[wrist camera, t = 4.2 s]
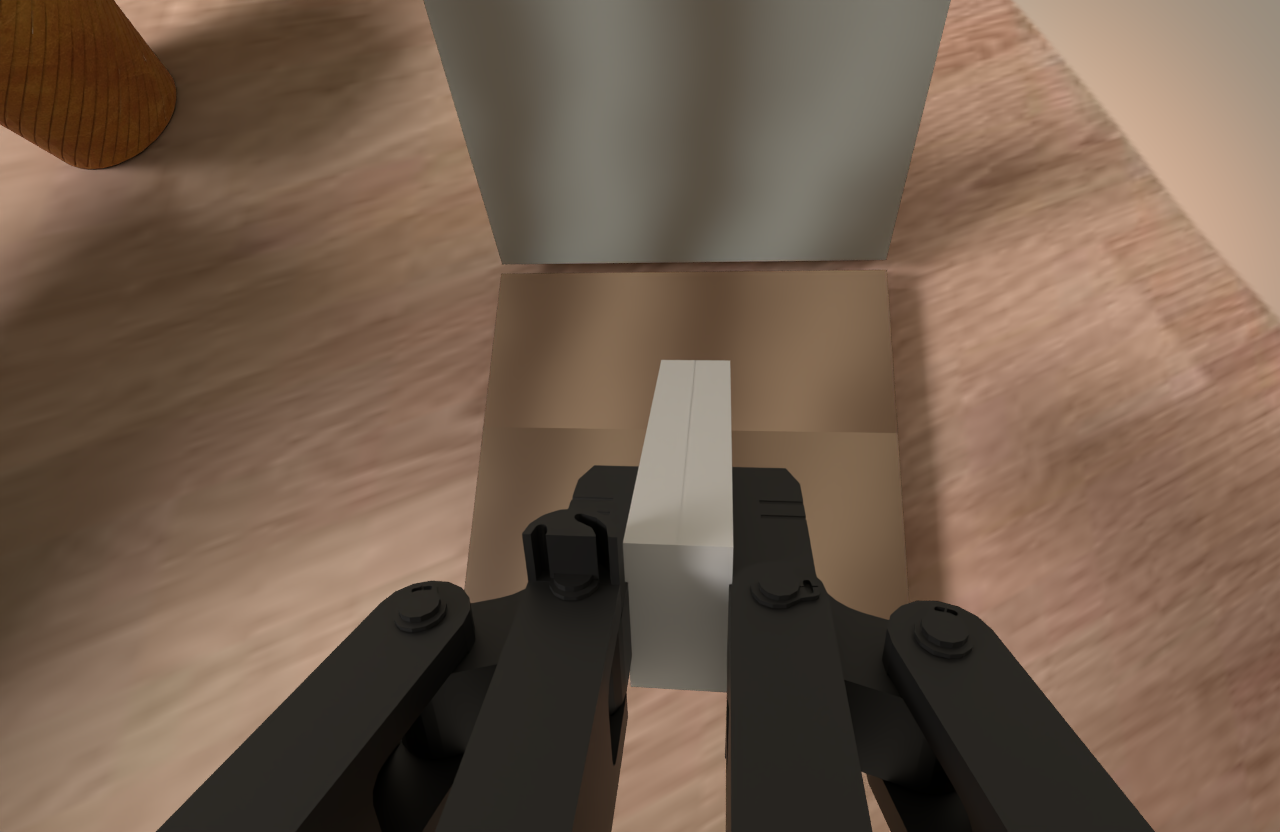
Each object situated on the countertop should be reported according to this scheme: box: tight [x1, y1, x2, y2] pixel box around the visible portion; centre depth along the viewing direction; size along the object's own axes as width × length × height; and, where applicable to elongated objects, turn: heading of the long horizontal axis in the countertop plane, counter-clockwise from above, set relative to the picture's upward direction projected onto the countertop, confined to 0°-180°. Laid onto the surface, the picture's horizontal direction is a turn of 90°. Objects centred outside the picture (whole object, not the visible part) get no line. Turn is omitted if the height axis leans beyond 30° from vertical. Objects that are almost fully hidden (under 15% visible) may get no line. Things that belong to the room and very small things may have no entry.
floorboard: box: [464, 270, 909, 620], centre depth 25 cm, size 14×12×1 cm
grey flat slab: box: [423, 0, 951, 264], centre depth 22 cm, size 14×10×1 cm
